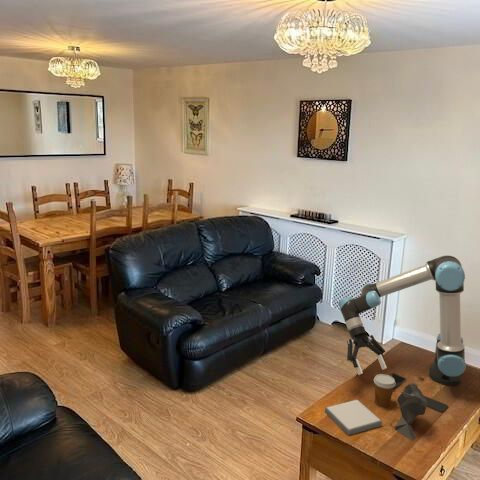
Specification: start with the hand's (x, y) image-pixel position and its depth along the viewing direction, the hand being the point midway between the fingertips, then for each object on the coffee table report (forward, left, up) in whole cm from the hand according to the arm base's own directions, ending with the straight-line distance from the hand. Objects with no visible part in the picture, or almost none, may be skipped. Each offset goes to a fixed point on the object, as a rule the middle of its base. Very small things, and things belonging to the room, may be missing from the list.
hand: (372, 371), depth 218 cm
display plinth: (+19, +12, -12) cm, 26 cm away
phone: (-21, +15, -12) cm, 29 cm away
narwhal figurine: (-1, +24, -12) cm, 27 cm away
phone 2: (-17, -5, -12) cm, 21 cm away
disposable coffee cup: (-1, +7, -12) cm, 14 cm away
